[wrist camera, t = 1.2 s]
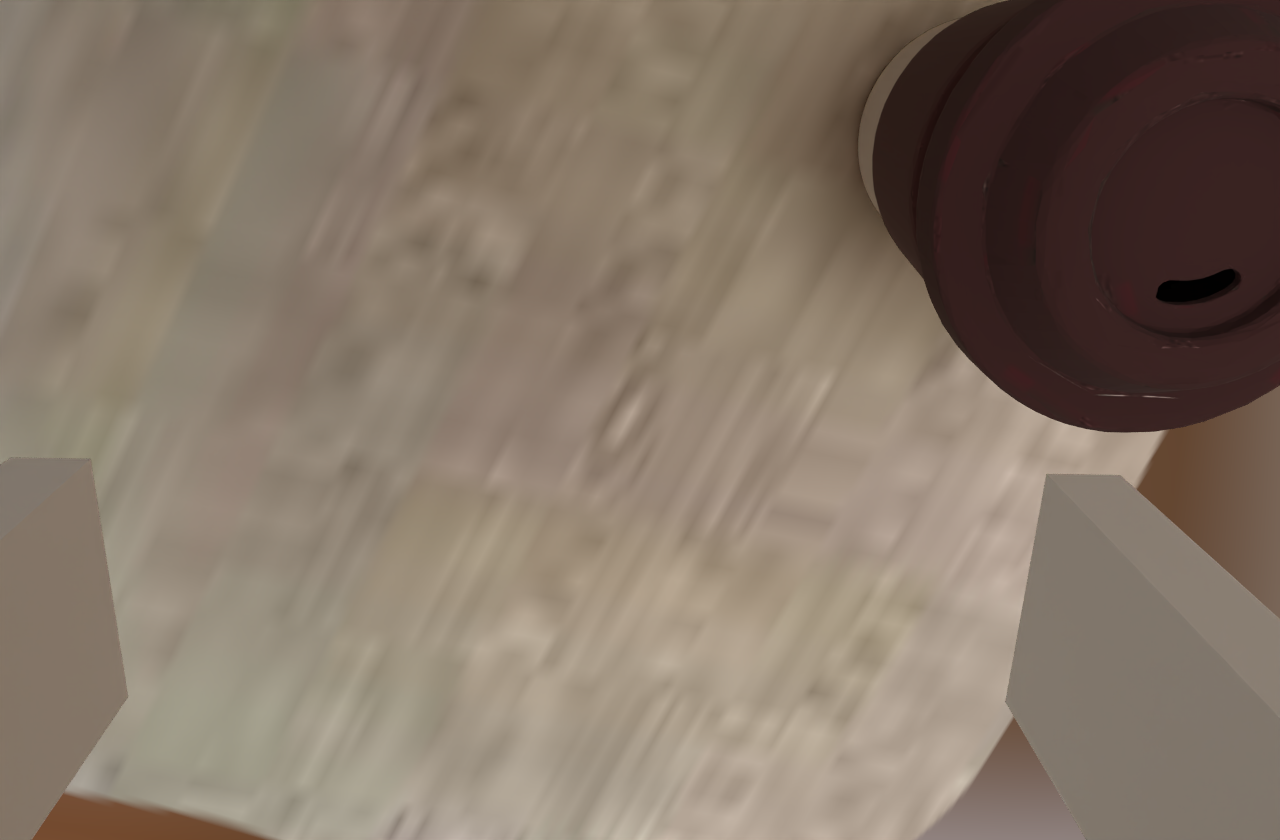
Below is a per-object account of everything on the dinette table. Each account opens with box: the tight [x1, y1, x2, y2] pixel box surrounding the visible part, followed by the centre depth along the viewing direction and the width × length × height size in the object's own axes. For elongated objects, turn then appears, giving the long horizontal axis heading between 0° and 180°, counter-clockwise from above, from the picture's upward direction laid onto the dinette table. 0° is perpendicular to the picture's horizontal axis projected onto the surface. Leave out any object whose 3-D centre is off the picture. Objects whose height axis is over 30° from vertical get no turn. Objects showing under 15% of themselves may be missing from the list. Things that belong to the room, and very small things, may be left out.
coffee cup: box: [858, 0, 1280, 432], centre depth 28 cm, size 10×10×15 cm
